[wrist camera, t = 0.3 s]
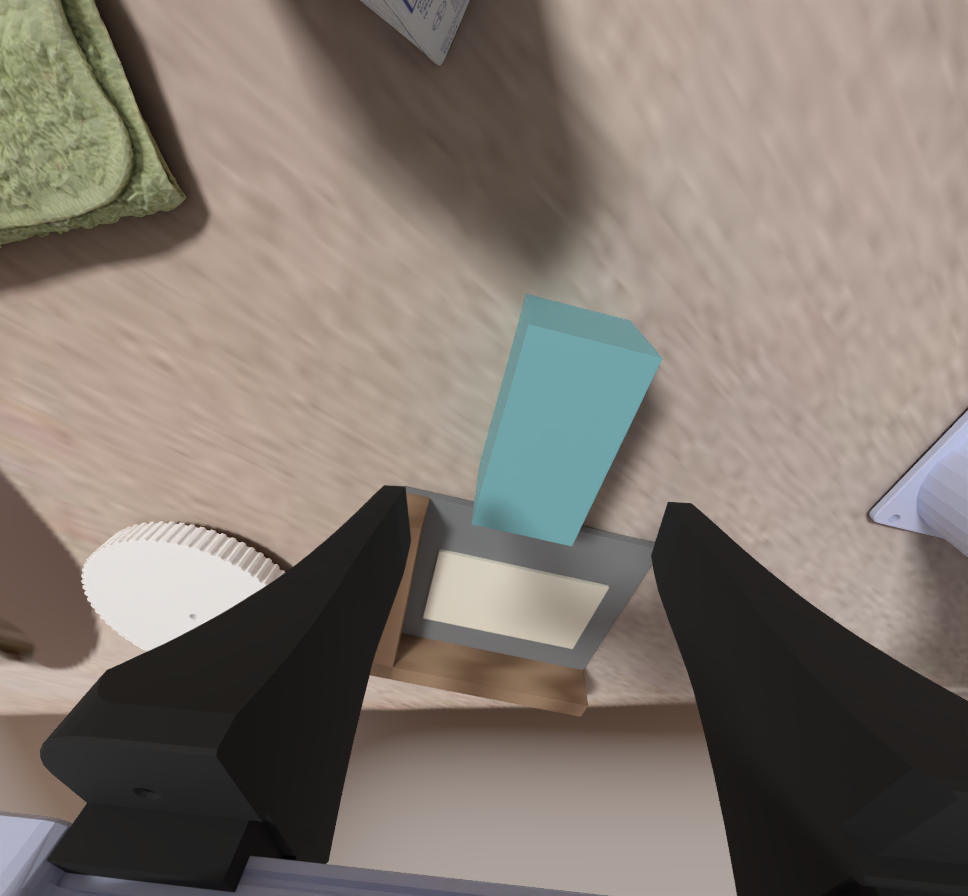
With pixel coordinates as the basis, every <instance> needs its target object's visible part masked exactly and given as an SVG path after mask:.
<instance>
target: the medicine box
mask: <svg viewBox="0 0 968 896" xmlns="http://www.w3.org/2000/svg"><path fill="white" fill-rule="evenodd" d="M360 1H361V2H362V3H364V4H365V5H366V6H367V7H369V8H370V9H371V10H372V11H374V12H375V13H376V14H377V15H379V16H380V17H381V18H382V19H384V20H385V21H386V22H387V23H388V24H390V25H391V26H392V27H393V28H395V29H396V30H397V31H398V32H400V33H401V34H402V35H403V36H404V37H406V38H407V39H408V40H409V41H410V42H412V43H413V44H414V45H415V46H416V47H418V48H419V49H420V50H421V51H422V52H423V53H425V54H426V55H427V56H428V57H429V58H430V59H431V60H432V61H433V62H434V63H435V64H437V65H439V66H441V65H442V63H443V62H444V60H445V57H446V55H447V53H448V50H449V48H450V46H451V43H452V41H453V38H454V36H455V34H456V32H457V29H458V27H459V25H460V22H461V20H462V18H463V15H464V13H465V11H466V8H467V6H468V4H469V1H470V0H360Z"/></svg>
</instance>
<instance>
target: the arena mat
mask: <svg viewBox="0 0 968 896" xmlns="http://www.w3.org/2000/svg"><path fill="white" fill-rule="evenodd" d="M405 487H406V486H405ZM406 492H407V493H411V494H415V495H420V496H424V497H429V498H430V499H429V504H428V509H427V514H426V519H425V524H424V528H423V533H422V538H421V543H420V548H419V553H418V557H417V562H416V567H415V572H414V577H413V582H412V586H411V591H410V596H409V601H408V606H407V611H406V615H405V620H404V625H403V630H402V633H403V634H408V635H413V636H418V637H423V638H428V639H433V640H438V641H443V642H448V643H453V644H457V645H462V646H467V647H472V648H477V649H482V650H487V651H492V652H497V653H502V654H507V655H511V656H516V657H521V658H526V659H531V660H536V661H541V662H546V663H551V664H556V665H561V666H566V667H570V668H575V669H580V670H584V668H585V667H586V665H587V664H588V662H589V660H590V659H591V657H592V656H593V654H594V653H595V651H596V650H597V648H598V647H599V645H600V644H601V642H602V641H603V639H604V637H605V636H606V634H607V633H608V631H609V630H610V628H611V627H612V625H613V624H614V622H615V621H616V619H617V618H618V616H619V614H620V613H621V611H622V610H623V608H624V607H625V605H626V604H627V602H628V601H629V599H630V598H631V596H632V594H633V593H634V591H635V590H636V588H637V587H638V585H639V584H640V582H641V581H642V579H643V578H644V576H645V575H646V573H647V571H648V570H649V568H650V567H651V565H652V559H651V554H652V551H653V548H654V545H655V542H650V541H646V540H641V539H637V538H632V537H628V536H624V535H619V534H615V533H610V532H606V531H601V530H597V529H593V528H588V527H584V526H581V528H580V531H579V533H578V535H577V537H576V539H575V541H574V543H573V545H572V546H568V545H564V544H559V543H554V542H550V541H545V540H541V539H536V538H532V537H527V536H523V535H518V534H513V533H509V532H504V531H500V530H495V529H491V528H486V527H481V526H477V525H472V517H473V510H474V502H473V501H468V500H464V499H460V498H455V497H451V496H446V495H442V494H437V493H433V492H429V491H424V490H420V489H415V488H411V487H406Z"/></svg>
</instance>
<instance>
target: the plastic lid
mask: <svg viewBox="0 0 968 896" xmlns="http://www.w3.org/2000/svg"><path fill="white" fill-rule="evenodd" d="M86 561H87V562H86V563H85V564H84V568H83V569H82V572H84V573H83V574H82V575H81V577H82V578H84V579H83V580H82V583H83V584H84V586H83V589H85V590H86V591H85V595H87V596H88V598H87V600H88V601H90V602H91V603H92V604H91V606H92V607H93V608H95V609H96V610H95V612H96V613H98V614H100V615H101V616H100V618H101V619H104V620H105V621H106V622H105V623H106V624H107V625H110V626H111V627H112V629H113V630H114V631H117V632H118V634H119V635H120V636H124V637H125V639H126V640H127V641H131V642H132V643H133V645H135V646H139V647H140V649H142V650H146V651H150V650H152V649H154V648H156V647H158V646H160V645H162V644H165V643H167V642H169V641H171V640H173V639H175V638H177V637H179V636H181V635H182V634H184V633H186V632H188V631H190V630H192V629H194V628H196V627H198V626H200V625H201V624H203V623H205V622H207V621H209V620H210V619H212V618H214V617H216V616H218V615H219V614H221V613H223V612H225V611H226V610H228V609H230V608H231V607H233V606H235V605H236V604H238V603H240V602H241V601H243V600H244V599H246V598H248V597H249V596H251V595H252V594H254V593H256V592H257V591H259V590H260V589H262V588H264V587H265V586H267V585H268V584H270V583H271V582H273V581H274V580H275V579H277V578H278V577H280V576H281V575H282V574H284V573H285V571H284V570H280V569H279V566H278V565H277V564H273V563H272V560H271V559H270V558H265V557H264V554H262V553H261V552H260V553H258V552H256V551H255V549H254V548H253V547H248V546H246V544H245V543H243V542H241V543H240V542H238V541H236V539H235V538H233V537H231V538H229V537H227V536H226V534H223V533H221V534H218V533H216V531H215V530H210V531H209V530H206V528H205V527H200V528H198V527H195V525H192V524H190V525H189V526H187V525H185V524H184V523H179V524H175V523H174V522H169V523H165V522H164V521H160V522H159V523H155V522H150V523H149V524H147V523H142V524H141V525H140V526H139V525H138V524H136V525H134V526H133V527H130V526H129V527H127V528H126V529H125V530H124V529H122V530H121V531H120V532H118V533H116V534H115V535H114V536H112V537H111V538H110V539H109V540H108V541H107V542H105V543H104V544H103V545H102V546H101V547H100V548H98V549H97V550H96V551H95V552H94V553H93V554H91V555H90V557H89V558H88V559H87V560H86Z"/></svg>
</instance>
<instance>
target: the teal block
mask: <svg viewBox="0 0 968 896" xmlns="http://www.w3.org/2000/svg"><path fill="white" fill-rule="evenodd" d="M661 360H662V357H661V356H660V355H659V354H658V352H657V351H656V350H655V349H654V348H653V347H652V345H651V344H650V343H649V342H648V341H647V340H646V338H645V337H644V336H643V335H642V334H641V333H640V331H639V330H638V329H637V328H636V327H635V325H634V324H633V323H632V322H631V321H630V320H626V319H622V318H618V317H614V316H610V315H606V314H602V313H598V312H595V311H591V310H587V309H583V308H579V307H575V306H571V305H567V304H563V303H560V302H556V301H552V300H548V299H544V298H540V297H536V296H532V295H528V294H526V297H525V300H524V304H523V308H522V311H521V315H520V319H519V322H518V326H517V330H516V333H515V337H514V341H513V344H512V348H511V352H510V355H509V359H508V363H507V366H506V370H505V374H504V377H503V381H502V385H501V388H500V392H499V396H498V399H497V403H496V407H495V410H494V414H493V418H492V421H491V425H490V429H489V432H488V436H487V440H486V443H485V447H484V451H483V454H482V458H481V462H480V466H479V473H478V480H477V488H476V495H475V502H474V510H473V517H472V525H477V526H481V527H486V528H491V529H495V530H500V531H504V532H509V533H513V534H518V535H523V536H527V537H532V538H536V539H541V540H545V541H550V542H554V543H559V544H564V545H568V546H572V545H573V543H574V541H575V539H576V537H577V535H578V533H579V531H580V528H581V526H582V524H583V522H584V520H585V518H586V516H587V514H588V512H589V510H590V508H591V506H592V504H593V501H594V499H595V497H596V495H597V493H598V491H599V489H600V487H601V485H602V483H603V481H604V479H605V477H606V474H607V472H608V470H609V468H610V466H611V464H612V462H613V460H614V458H615V456H616V454H617V452H618V450H619V447H620V445H621V443H622V441H623V439H624V437H625V435H626V433H627V431H628V429H629V427H630V425H631V423H632V420H633V418H634V416H635V414H636V412H637V410H638V408H639V406H640V404H641V402H642V400H643V398H644V396H645V394H646V391H647V389H648V387H649V385H650V383H651V381H652V379H653V377H654V375H655V373H656V371H657V369H658V367H659V364H660V362H661Z"/></svg>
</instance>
